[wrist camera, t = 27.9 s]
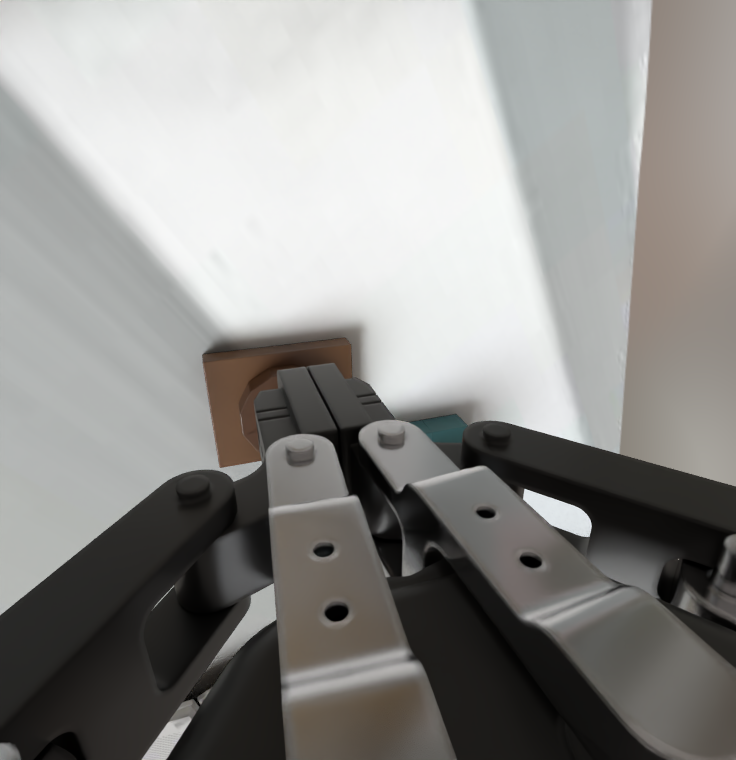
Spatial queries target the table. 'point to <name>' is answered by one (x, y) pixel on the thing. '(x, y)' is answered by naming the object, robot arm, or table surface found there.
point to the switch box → (257, 388)
